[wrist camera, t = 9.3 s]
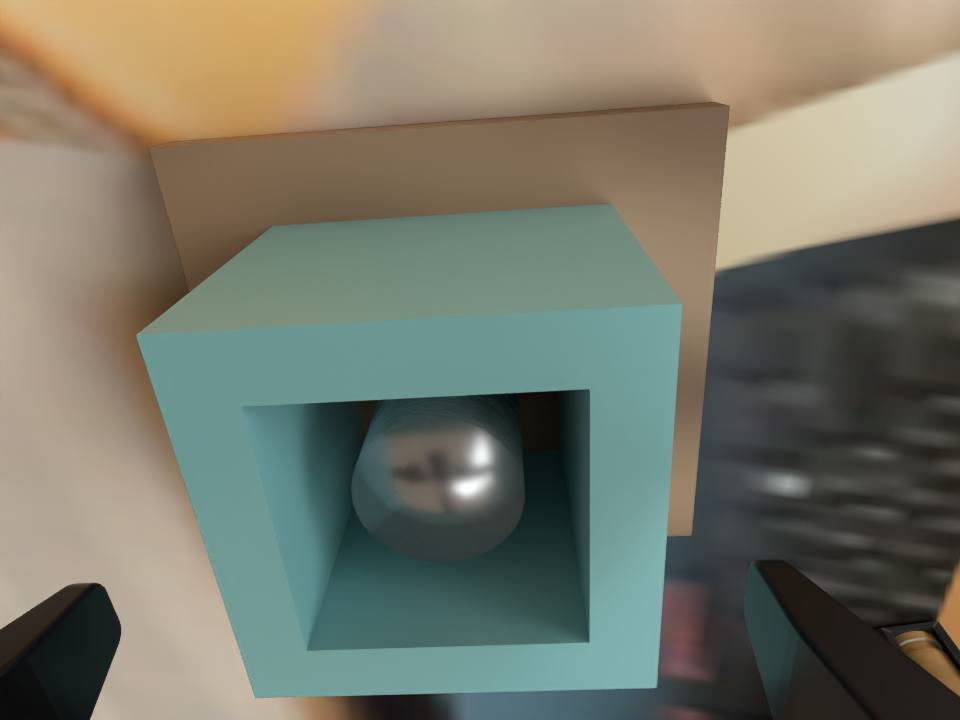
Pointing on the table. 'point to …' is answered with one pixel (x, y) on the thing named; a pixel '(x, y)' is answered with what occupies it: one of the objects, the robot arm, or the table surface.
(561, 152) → the post base
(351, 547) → the collar
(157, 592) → the table surface
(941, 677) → the ammunition clip
